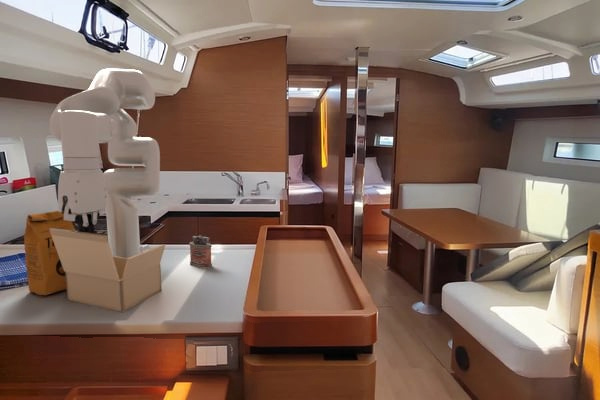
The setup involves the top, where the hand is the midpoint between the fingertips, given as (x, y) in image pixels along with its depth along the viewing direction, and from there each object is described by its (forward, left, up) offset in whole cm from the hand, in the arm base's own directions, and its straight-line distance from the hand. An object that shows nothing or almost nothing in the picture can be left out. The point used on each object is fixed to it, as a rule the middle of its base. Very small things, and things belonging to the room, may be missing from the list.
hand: (87, 241), depth 91 cm
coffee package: (-6, -19, -17) cm, 26 cm away
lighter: (-37, +7, -17) cm, 41 cm away
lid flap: (+1, 0, -3) cm, 3 cm away
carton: (-8, 0, -17) cm, 19 cm away
